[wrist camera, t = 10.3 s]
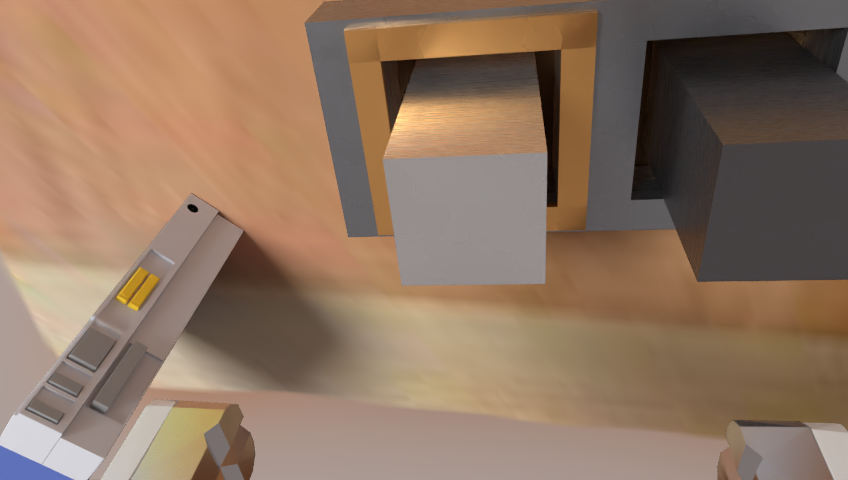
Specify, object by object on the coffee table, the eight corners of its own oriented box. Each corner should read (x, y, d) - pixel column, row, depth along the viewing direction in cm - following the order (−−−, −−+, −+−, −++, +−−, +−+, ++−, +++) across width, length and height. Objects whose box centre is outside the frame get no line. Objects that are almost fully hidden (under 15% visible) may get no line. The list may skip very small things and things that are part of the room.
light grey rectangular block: (533, 46, 21) (547, 152, 15) (533, 151, 24) (545, 283, 17) (418, 54, 22) (382, 159, 15) (429, 156, 24) (401, 285, 18)
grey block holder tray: (1216, -70, 17) (1325, -52, 15) (1077, 179, 22) (1144, 222, 20) (323, 2, 21) (301, 25, 19) (360, 202, 26) (346, 241, 23)
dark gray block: (781, 29, 20) (915, 136, 14) (756, 141, 22) (861, 279, 16) (653, 38, 21) (723, 144, 14) (642, 146, 23) (697, 281, 16)
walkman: (175, 325, 31) (23, 565, 21) (124, 296, 30) (-58, 531, 20) (248, 227, 27) (104, 466, 17) (191, 191, 26) (6, 419, 16)
